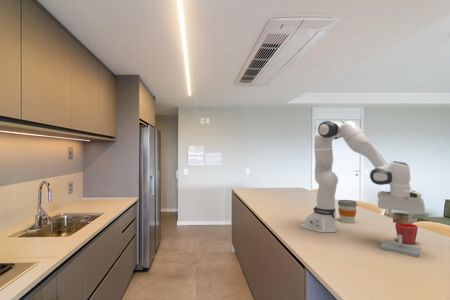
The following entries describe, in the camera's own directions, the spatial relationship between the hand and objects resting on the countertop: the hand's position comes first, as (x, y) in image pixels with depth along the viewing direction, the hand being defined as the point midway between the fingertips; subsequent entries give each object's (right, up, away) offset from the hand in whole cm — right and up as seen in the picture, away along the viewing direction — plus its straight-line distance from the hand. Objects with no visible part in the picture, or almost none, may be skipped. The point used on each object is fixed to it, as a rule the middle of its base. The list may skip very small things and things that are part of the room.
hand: (400, 219), depth 134 cm
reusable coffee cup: (-2, -17, +55) cm, 58 cm away
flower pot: (+11, -17, +12) cm, 24 cm away
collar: (0, -2, 0) cm, 2 cm away
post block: (0, -16, 0) cm, 16 cm away
